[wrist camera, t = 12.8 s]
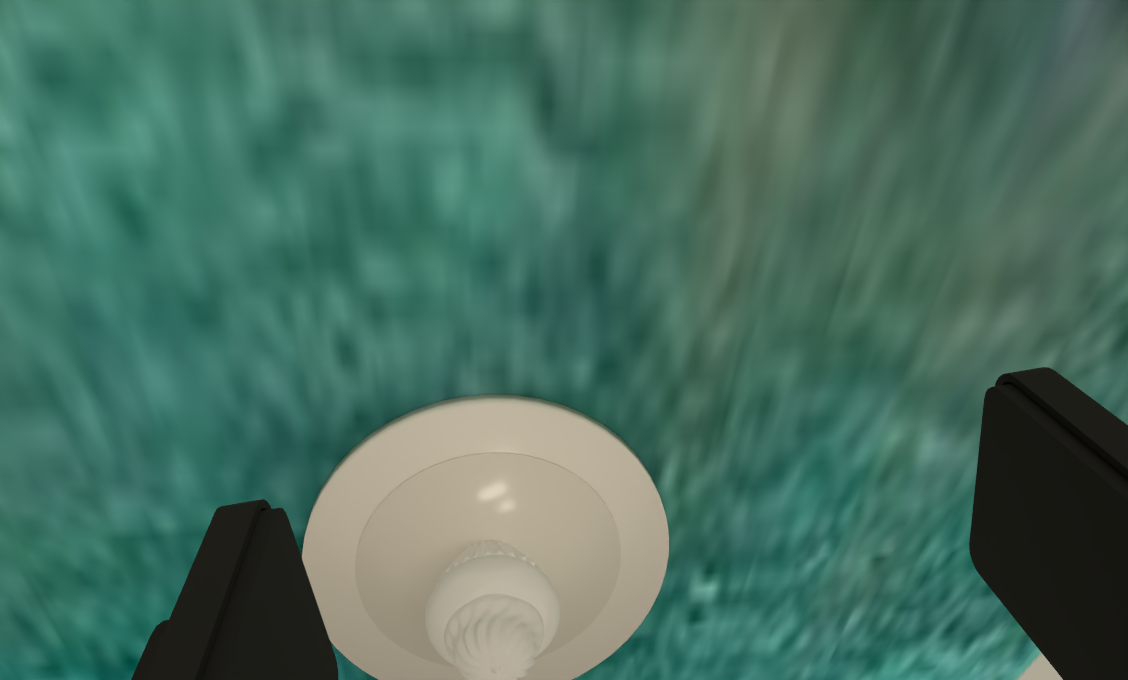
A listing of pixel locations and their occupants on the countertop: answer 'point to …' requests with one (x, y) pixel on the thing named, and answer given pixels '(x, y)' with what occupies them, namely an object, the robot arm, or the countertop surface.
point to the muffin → (492, 612)
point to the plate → (485, 529)
